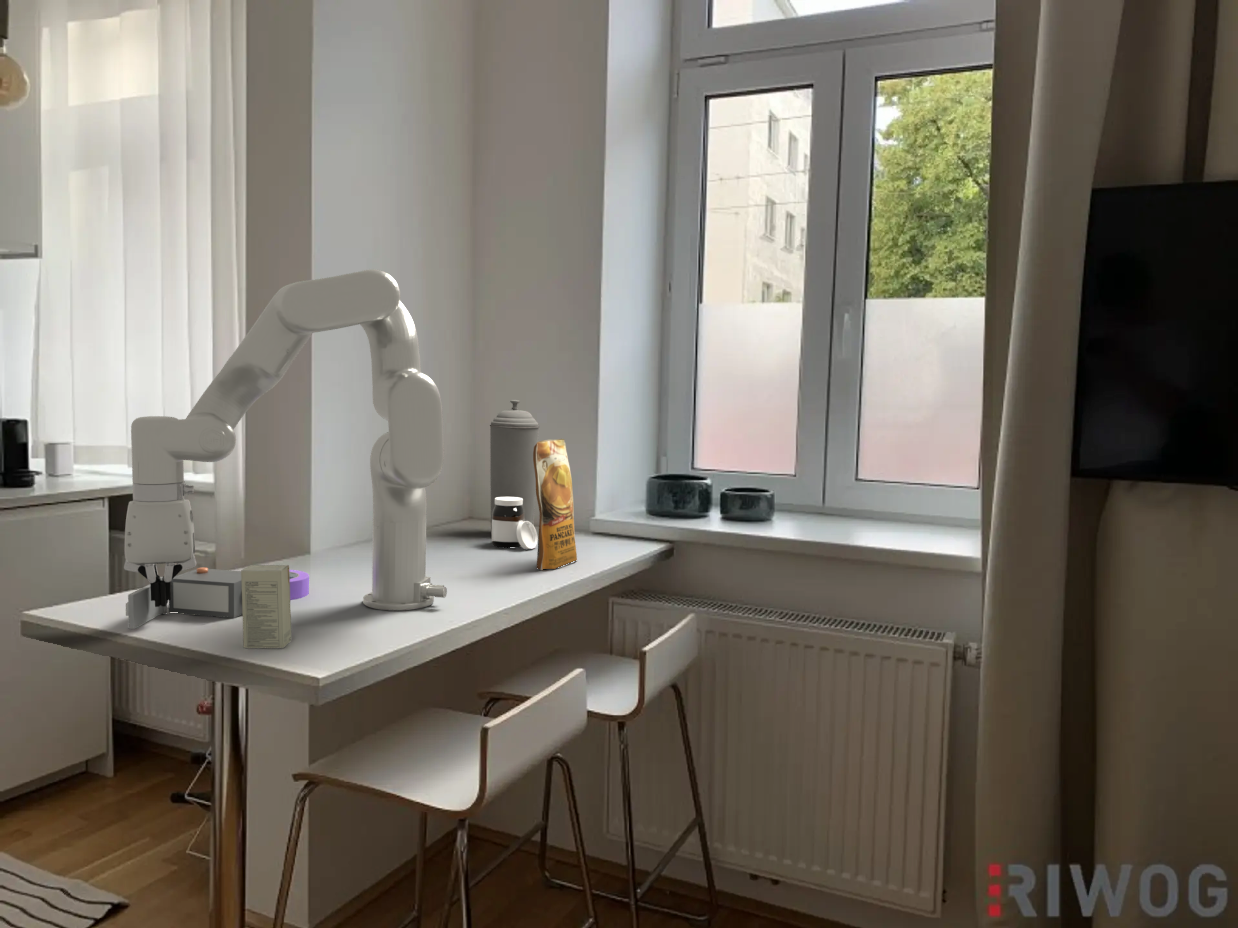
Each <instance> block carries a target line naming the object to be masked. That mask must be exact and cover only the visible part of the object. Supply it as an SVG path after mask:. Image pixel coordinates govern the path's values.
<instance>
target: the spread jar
mask: <svg viewBox="0 0 1238 928" xmlns="http://www.w3.org/2000/svg"><path fill="white" fill-rule="evenodd" d="M522 504H523V499H522V498H518V497H497V498H495V507H494V509H493V512H492V533H491V544H492V546H493V547H495V548H499V547H504V548H503V549H511V548H510V547H518V548H523V549H524V550H526V549H529V550H532V549H534V548H536V546H538V533H537V532H538V531H537V529H536V527H535V526H534V525H535V524H534V525H533V524H532V523H531V522H529V521H524V509H523V507H522ZM520 546H521V547H520Z"/></svg>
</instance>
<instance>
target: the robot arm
mask: <svg viewBox="0 0 1238 928" xmlns="http://www.w3.org/2000/svg"><path fill="white" fill-rule="evenodd" d="M357 325H358V326H359V325H360V326H361V327H362V329H363V331H364V332H365V334H366V336H367V340H368V344H369V351H370V359H371V382H372V384H371V385H372V404H373V407H374V410H375V411H376V413H377V414H378V415H379V416H380V417H381V418H382V419H384V420H386V421H388V423H387V424H388V425H387V426H388V432H385V433H383V434H382V435H380V436H379V437H378V438H377V439H376V440H375V442H374V444H373V446H372V448H371V450H370V451H371V452H370V458H369V466H370V468H369V469H370V477H371V485H372V557H371V559H372V560H371V561H372V565H371V566H372V567H371V568H372V569H371V571H372V573H371V574H372V577H371V592H369V593H366V594H365V595H364V596H363V598H362V602H363V605H365V606H366V607H368V608H371V609H375V610H382V611H383V610H384V611H409V610H410V611H411V610H417V609H423V608H425V607H429V606H431V605H432V604H434V602H435V599H434V598H443V599H445V598H446V597H447V593H448V590H447V589H448V588H447V587H446V586H445V585H444V584H443V585H442V584H441V585H440V584H433V583H432V582H431V577H430V576H426V562H427V561H426V560H427V558H426V557H427V556H426V555H427V517H428V512H427V511H428V510H427V509H428V504H427V503H428V502H427V500H428V499H427V492H426V487H428V486H431V484H433V483H434V482H435V481H436V480H437V479H438V477H440V475H441V472H442V469H443V466H444V457H445V456H444V455H445V453H444V452H445V449H444V448H445V442H444V419H443V403H442V398H441V393H440V391H439V388H438V386H437V385H436V383H435V381H434V380H433V379H432V378H431V377H429V375H427V374H425V373H423V372H422V369H421V356H420V346H419V344H420V343H419V336H418V332H417V328H416V325H415V322H414V320H413V318H412V316H411V314H410V312H409V310H408V309H407V308H406V306H405V305H404V303H402V301H401V289H400V287H399V284H398V282H397V281H396V280H395V278H394V277H393V276H392V275H390V273H388V272H385V271H384V270H380V269H374V268H371V269H370V268H369V269H365V270H360V271H356V272H355V271H354V272H350V273H345V274H338V275H335V276H329V277H328V276H327V277H324V278H322V277H321V278H317V279H309V280H302V281H301V280H300V281H296V282H293V283H292V282H291V283H289V284H287V285H284V286H282V287H281V288H279V289H278V291H277V292H275V294H274V295H273V296H272V298H271V299H270V301H269V302H268V304H267V305H266V306H265V308H264V309H263V311H262V312H261V313H260V314H259V317H258V318H257V319H256V321H255V322H254V324H253V325H252V326H251V328H250V329H249V331H247V334H246V335H245V336H244V338H243V339H242V341H241V342H240V344H239V345H238V346H237V347H236V349H235V350H234V352H233V353H232V354H231V356H229V358H228V360H227V361H226V362H225V364H224V365H223V366H222V368H221V370H220V371H219V372H218V373H217V374H216V376H215V378H214V379H213V380H212V381H211V383H210V384H209V385H208V386H207V387H206V389H205V391H204V392H203V394H202V395H201V396H200V397H199V399H198V400H197V402H196V403H195V404H194V405H193V407H192V409H191V410H190V412H189V413H188V415H186V418H184V419H183V418H181V419H178V418H177V417H175V416H167V415H166V416H165V415H164V416H159V415H157V416H156V415H155V416H153V415H150V416H140V417H136V418H135V419H134V420H133V421H132V422H131V426H130V427H131V428H130V435H131V436H130V438H131V440H130V441H131V443H130V444H131V471H132V473H131V477H132V500H130V501H128V505H127V511H126V517H125V518H126V519H125V525H124V526H125V529H124V559H125V560H124V565H123V569H124V571H128V572H133V573H139V574H140V575H142V577H143V578H145V579H146V580H147V581H148V582H149V584H150V587H151V601H155V607H159V606H160V605H161V606H162V607H165V606H166V605H167V606H168V604H169V600H171V599H172V579H173V578H174V577H175V576H177V575H179V573H180V572H182V571H186V570H190V569H191V570H192V569H195V568H196V566H197V560H196V556H195V553H196V537H195V524H194V516H193V510H192V506H191V502H190V500H189V499H185V497H186V496H187V495H192V494H194V492H195V489H194V487H195V486H194V485H188V484H187V483H185V480H184V479H185V475H184V474H185V473H184V472H185V471H184V470H185V469H184V461H189V462H190V461H192V462H203V463H215V462H220V461H222V460H224V459H226V458H228V457H229V456H230V455H231V454H232V453H233V451H234V449H235V446H236V441H237V439H236V433H235V430H234V429H235V428H236V427H237V425H238V424H239V423H240V421H241V420H242V418H243V417H244V415H245V414H246V413H247V411H249V409H250V408H251V407H252V406H253V405H254V403H256V401H257V400H258V399H259V398H261V397H262V396H263V395H265V394H266V393H267V392H269V391H270V390H272V389H273V388H275V386H276V385H277V384H278V383H279V382H281V380H282V379H283V377H284V376H285V374H286V373H287V371H288V370H289V369H290V367H291V365H292V364H293V362H294V361H295V359H296V358H297V356H298V355H299V353H300V352H301V350H302V349H303V347H304V346H305V345H306V343H308V341H309V340H310V338H311V336H312V335H313V334H314V333H322V332H327V331H333V330H338V329H343V328H347V327H348V328H349V327H353V326H357ZM159 564H160V565H161V564H162V565H163V564H165V566H164V574H163V576H162V577H163V578H162V580H161V579H160V577H161V576H160V575H159V572H158V567H157V565H159Z"/></svg>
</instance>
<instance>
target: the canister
mask: <svg viewBox="0 0 1238 928" xmlns="http://www.w3.org/2000/svg"><path fill="white" fill-rule="evenodd" d="M520 402H521V401H520V400H519V399H518V400H517V399H511V400H509V403H511V404H512V407H511V409H506V410H505V409H504V410H501V411H500V412H499V413H497V415H496V417H494V418H493V420H492V421H491V422H490V424H489V426H490V429H489V430H490V437H489V438H490V441H489V442H490V447H489V449H490V453H489V454H490V459H489V461H490V467H489V468H490V470H489V472H490V533H491V534H492V512H493V509H494V507H495V498H497V497H518V498H522V499H523V504H522V507H523V509H524V521H529V522H531V523H532V524H533V525H535V524H534V523H535V521H534V520H535V507H536V506H535V503H536V478H535V470H534V462H533V451H534V446H535V445H536V443H537V442H539V431H540V429H539V428H540V425H539V422H538V421H537V420H536V419H535V418H534V417H533V414H531V412H529V411H527V410H521V409H520V410H519V408H518V404H519V403H520Z"/></svg>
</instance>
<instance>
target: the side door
mask: <svg viewBox="0 0 1238 928" xmlns="http://www.w3.org/2000/svg"><path fill="white" fill-rule="evenodd" d="M162 578H163V576H160V579H161V580H162ZM127 599H128V601H127V602H125V616H126V617H127V618H128V629H129V630H135V629H136V628H138V627H140V626H142V625H144V624H145V623H147V622H149V621H151V620H152V619H154V618H157V616H159V615H167V614H168V604H167V605H166V606H165V607H162V606H161V605H160V606H159V607H155V601H151V587H150V583H149V584H147V585H145V586H144V587H141V588H140V589H137V590H135V591H132V592H131V593H129V594H128V595H127ZM166 613H167V614H166Z"/></svg>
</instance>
